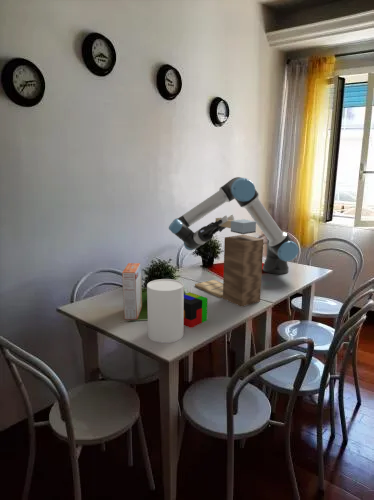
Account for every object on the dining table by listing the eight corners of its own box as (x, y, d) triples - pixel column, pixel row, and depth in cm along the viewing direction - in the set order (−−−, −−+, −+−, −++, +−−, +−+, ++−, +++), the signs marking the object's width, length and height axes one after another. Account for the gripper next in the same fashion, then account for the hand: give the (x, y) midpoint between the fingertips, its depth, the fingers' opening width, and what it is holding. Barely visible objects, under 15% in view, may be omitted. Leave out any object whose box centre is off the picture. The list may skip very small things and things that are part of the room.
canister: (175, 345, 136) (175, 292, 131) (141, 339, 140) (140, 288, 136) (188, 329, 148) (188, 281, 143) (157, 324, 153) (156, 277, 148)
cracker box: (129, 307, 170) (127, 262, 166) (142, 307, 170) (141, 262, 165) (123, 320, 157) (121, 271, 152) (137, 320, 157) (136, 272, 152)
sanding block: (224, 225, 189) (224, 215, 188) (255, 232, 172) (256, 221, 171) (211, 227, 185) (211, 217, 184) (242, 234, 167) (243, 223, 166)
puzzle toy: (173, 320, 156) (172, 298, 154) (189, 314, 163) (189, 292, 161) (190, 328, 150) (191, 304, 147) (207, 320, 157) (207, 298, 155)
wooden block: (241, 293, 189) (243, 234, 182) (260, 301, 178) (263, 239, 171) (222, 298, 182) (224, 237, 175) (241, 306, 172) (244, 242, 164)
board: (214, 281, 206) (214, 279, 206) (240, 292, 190) (240, 290, 189) (194, 286, 199) (194, 283, 199) (220, 298, 182) (220, 295, 182)
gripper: (217, 239, 202) (245, 223, 183) (193, 243, 192) (219, 226, 173) (213, 226, 203) (240, 209, 184) (188, 230, 194) (214, 211, 175)
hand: (229, 217), depth 179 cm, fingers closed on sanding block, 3 cm apart
